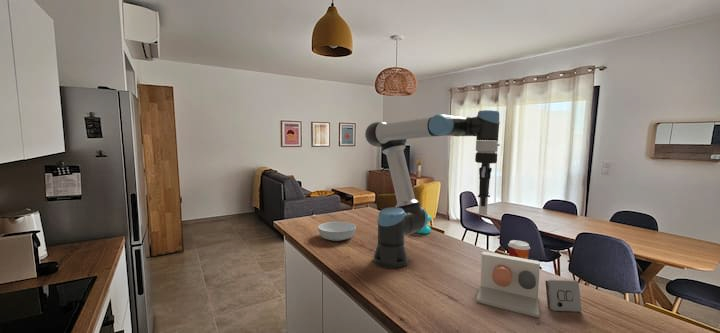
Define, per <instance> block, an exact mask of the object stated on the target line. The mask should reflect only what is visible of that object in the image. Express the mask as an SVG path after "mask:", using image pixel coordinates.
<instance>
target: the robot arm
mask: <svg viewBox="0 0 720 333" xmlns="http://www.w3.org/2000/svg"><path fill="white" fill-rule="evenodd" d="M500 123H501V122H500V111H498V110H494V109H485V110H479V111H478V112H477V115H476V116H458V115H457V116H456V115H452V114H451V115H450V114H445V113H441V114H440V113H439V114H435V115H433V116H429V117H424V118H423V117H422V118H416V119H409V120H403V121H396V122H385V121H378V122H377V121H376V122H372V123H371V124H369V125H368V126H367V127H366V129H365V134H364V135H365V137H364V138H365V139H366V141H367V142H368V144H370V145H371V146H373V147H379V148H381V151H382V154H384V155H386V161H387V164H388V168H389V173H390V176H391V181H392V185H393V189H394V194H395V197H396V202H397V203H396V205H395V206H393V207H386V208H383V209H381V210H379V212H378V215H377V216H378V217H377V218H378V219H377V245H376V247H375V251H374V254H373V263H374V264H375V265H376V266H379V267H382V268H385V269H399V268H403V267H405V266H407V265H408V263H409V262H408V261H409V259H408V257H409V256H408V253H407V251H406V247H405V236H407V235H411V234H414V233H417V232H418V231H420V230H422V229H424V228H425V226H426V225H427V226H428V223H429V222H428V215H429V214H428V212H427V210H426V209H425V208H424V207H423V206H421V204H420V200H418V199H416V198H415V196H416V195H415V193H414V190H413V184H412V181H411V177H410V173H409V168H408V165H407V160H406V156H405V152H404V151H405V149H406V143H407V140H410V139H419V138H420V139H421V138H431V137H432V138H433V137H443V136H446V137H447V136H449V137H450V136H451V137H476V140H475V151H476V152H475V158H474V161H475V162H476V163H478V164H481V165H480V166H481V167H479V168H478V175H479V178H478V179H479V186H478V187H479V189H478V190H479V191H478V192H479V193H478V195H477V198H479V201H478V202H479V205H478V215H482V216H483V215H484V216H487V215H488V204H489V203H488V202H489V200H488V199H489V198H491V195H489V194H490V193H489V190H490V179H491V174H492V167H491V164H496V163H497V162H498V154H497V152H498V149H499V148H498V147H500V146H501V144H500V143H499V135H500V134H499V132H500Z"/></svg>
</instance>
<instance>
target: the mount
mask: <svg viewBox="0 0 720 333" xmlns="http://www.w3.org/2000/svg"><path fill="white" fill-rule="evenodd" d="M540 263H541V261H539V260H536V259H535V260H534V259H529V258H528V259H524V258H518V257H512V256H509V255H507V254H501V253H496V252H495V253H494V252H489V251H482V252H481V268H480V269H481V270H480V285H479V286H480V287H479V289H478V291H477V292H478V293H477V297H476V301H475V302H476V303H480V304H483V305H487V306H491V307H495V308H499V309H503V310H507V311H511V312H514V313H519V314H523V315H527V316H530V317H534V318H538V319H540V318H539V317H540V311H539V286H540V284H539V283H540V282H539V281H540V269H541V268H540V267H541V264H540ZM498 265H504V266H507V267H508V268H510V270H511V272H512V282H511V284H510V285H509V286H506V287H501V286H499V285H497V284H496V283H495V282H494V281H493V278H492V274H493V270H494V268H495V267H496V266H498Z"/></svg>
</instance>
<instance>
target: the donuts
mask: <svg viewBox="0 0 720 333" xmlns="http://www.w3.org/2000/svg"><path fill="white" fill-rule="evenodd" d="M427 215H428V222H427V223H429V222H431V220H432V216H431V215H430V214H427ZM431 231H432V229H431V227H430V226H429V225H428V224H427V225H426V226H425V228H424V229H422V230H420V231H418V232H416V233H417V234H429V233H431Z"/></svg>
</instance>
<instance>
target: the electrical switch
mask: <svg viewBox="0 0 720 333" xmlns="http://www.w3.org/2000/svg"><path fill="white" fill-rule="evenodd" d="M545 290H546V302H547V306H548V307H549V308H550V310H551V311H554V312H573V313H574V312H578V313H579V312H581V311H582V302H581V292H580V285H579V281H578V280H577V281H576V280H575V279H574V280H572V279H569V280H567V279H548V280H545Z"/></svg>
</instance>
